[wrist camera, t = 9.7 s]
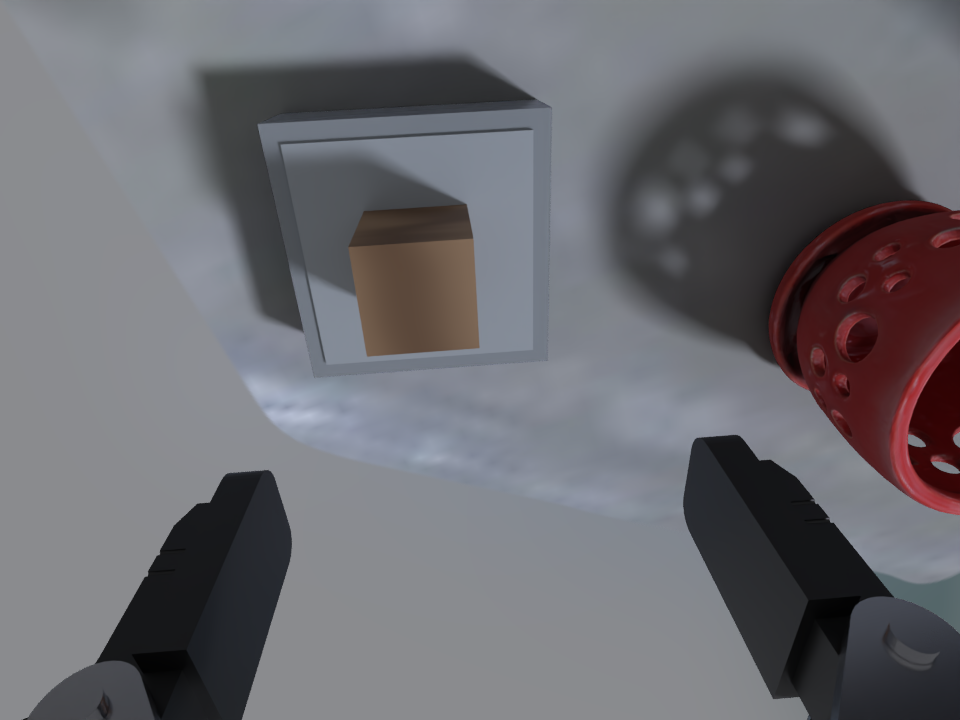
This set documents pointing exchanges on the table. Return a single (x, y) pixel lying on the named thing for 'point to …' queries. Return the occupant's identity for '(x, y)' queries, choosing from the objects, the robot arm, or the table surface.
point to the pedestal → (412, 184)
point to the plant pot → (882, 339)
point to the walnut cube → (415, 280)
